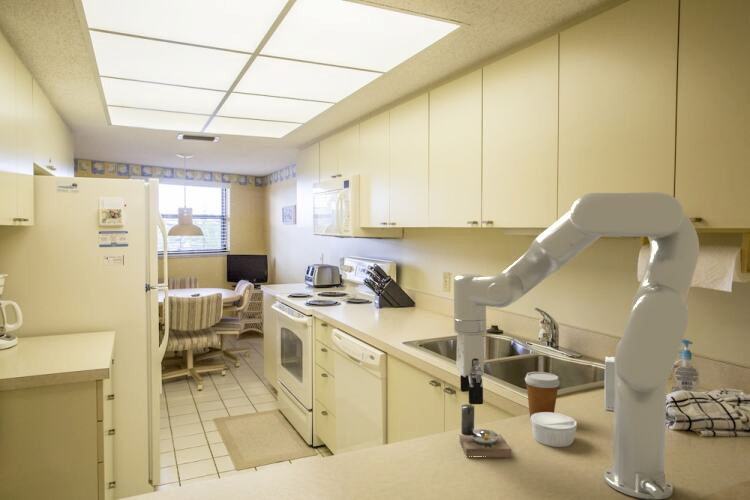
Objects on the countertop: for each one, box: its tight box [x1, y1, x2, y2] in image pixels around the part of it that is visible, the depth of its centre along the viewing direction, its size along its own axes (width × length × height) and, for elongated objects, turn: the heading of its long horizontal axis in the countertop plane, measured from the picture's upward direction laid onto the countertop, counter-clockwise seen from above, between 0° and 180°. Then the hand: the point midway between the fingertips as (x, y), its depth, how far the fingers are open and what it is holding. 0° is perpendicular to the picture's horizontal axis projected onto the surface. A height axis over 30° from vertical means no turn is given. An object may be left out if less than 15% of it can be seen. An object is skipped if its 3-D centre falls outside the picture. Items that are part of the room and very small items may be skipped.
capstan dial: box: [460, 403, 498, 445], centre depth 120 cm, size 7×8×8 cm
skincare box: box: [604, 355, 615, 412], centre depth 151 cm, size 8×6×15 cm
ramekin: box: [530, 412, 578, 448], centre depth 127 cm, size 11×11×5 cm
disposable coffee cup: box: [524, 371, 561, 418], centre depth 142 cm, size 10×10×12 cm
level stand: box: [459, 434, 512, 458], centre depth 120 cm, size 8×10×2 cm
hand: (471, 397), depth 120 cm, fingers open, 9 cm apart
